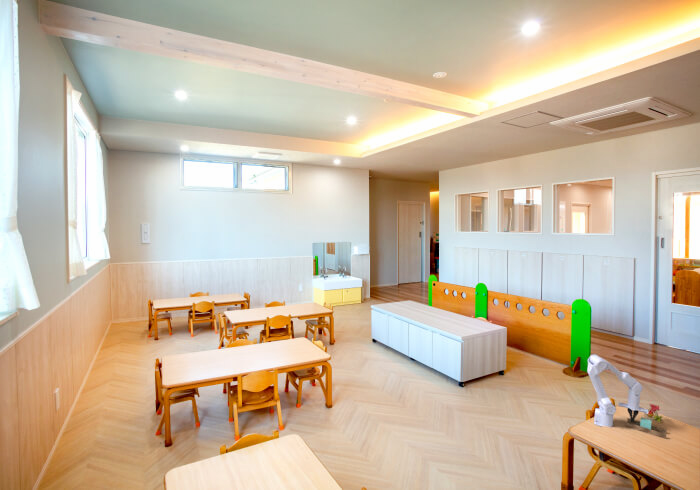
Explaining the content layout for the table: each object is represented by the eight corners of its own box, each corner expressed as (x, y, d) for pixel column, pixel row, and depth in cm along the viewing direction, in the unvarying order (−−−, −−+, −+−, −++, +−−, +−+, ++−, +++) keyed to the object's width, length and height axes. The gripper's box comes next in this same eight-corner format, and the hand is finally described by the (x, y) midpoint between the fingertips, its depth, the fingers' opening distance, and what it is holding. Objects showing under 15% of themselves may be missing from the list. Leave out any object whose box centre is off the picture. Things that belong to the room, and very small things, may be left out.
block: (639, 430, 219) (640, 420, 219) (640, 426, 223) (641, 417, 222) (650, 433, 216) (651, 423, 215) (650, 429, 219) (651, 420, 219)
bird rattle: (648, 424, 230) (665, 423, 224) (640, 407, 232) (657, 405, 226) (647, 420, 235) (665, 419, 229) (640, 403, 237) (657, 401, 231)
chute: (626, 428, 223) (626, 422, 222) (627, 423, 228) (627, 417, 228) (667, 440, 210) (667, 435, 210) (667, 435, 215) (667, 429, 215)
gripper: (618, 398, 224) (617, 419, 225) (649, 406, 214) (647, 428, 216) (619, 394, 229) (618, 414, 230) (648, 401, 220) (647, 422, 221)
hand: (632, 420), depth 223 cm, fingers closed
